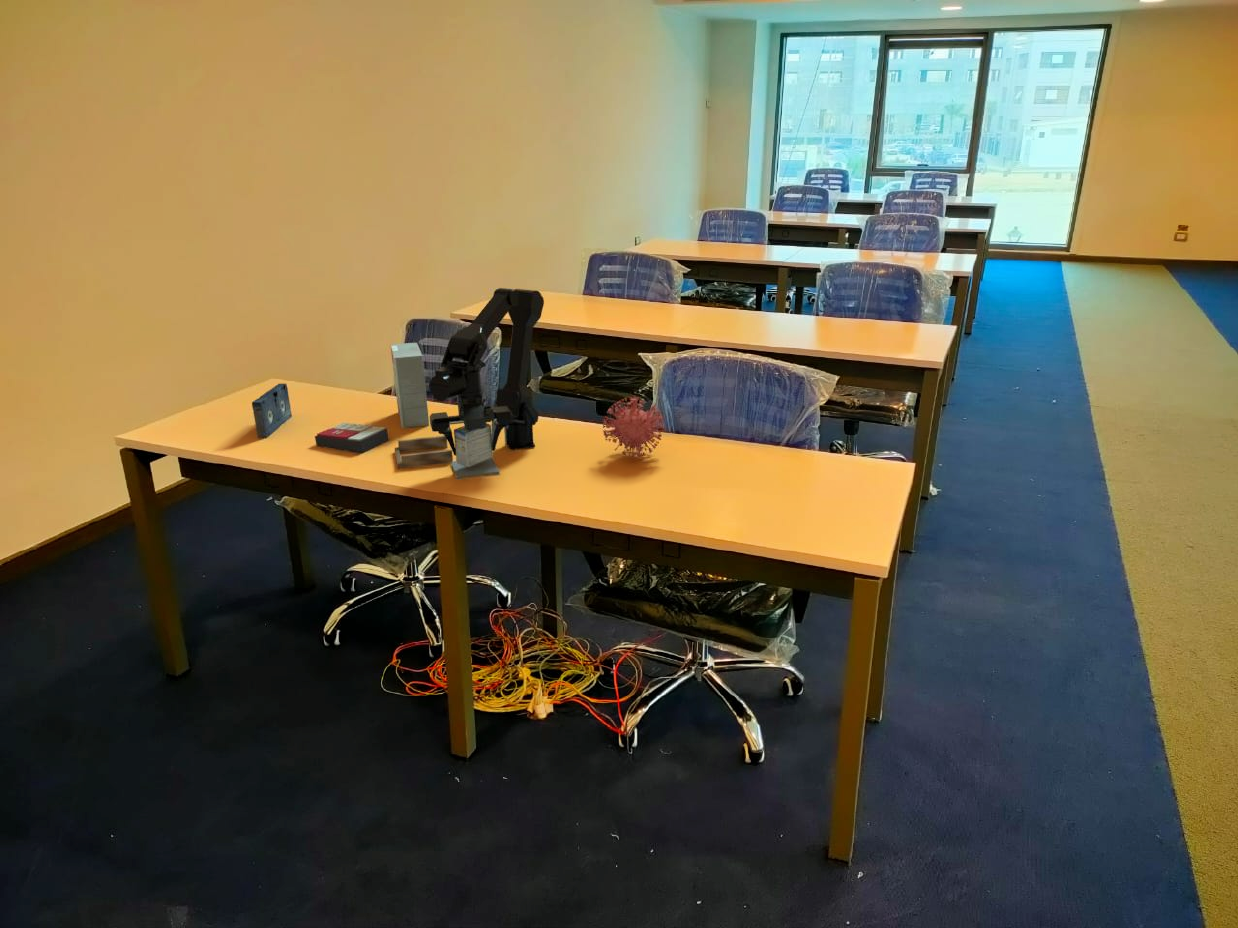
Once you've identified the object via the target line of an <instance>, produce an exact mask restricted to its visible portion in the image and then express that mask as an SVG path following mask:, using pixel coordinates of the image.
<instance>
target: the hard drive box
mask: <svg viewBox="0 0 1238 928" xmlns="http://www.w3.org/2000/svg"><path fill="white" fill-rule="evenodd" d="M389 346H390V352H391V353H390V354H391V360H392V369H393V370H392V371H393V379H394V387H395V396H396V404H397V412H398V417H399V419H400V420H399V421H400V426H401V428H402V429H408V428H417V427H423V426H425V427H426V426H427V427H428V426H429V425H430V416H429V409H428V399H427V390H426V379H425V369H424V357H423V353H422V351H421V349H420V346H419V344H418V342H408V343H396V344H395V343H394V344H390V345H389Z"/></svg>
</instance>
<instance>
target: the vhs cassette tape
mask: <svg viewBox="0 0 1238 928" xmlns="http://www.w3.org/2000/svg"><path fill="white" fill-rule="evenodd" d="M251 406H252V407H251V408H252V411H253V417H254V423H255V427H256V428H255V429H256V434H257V437H258V439H266V438H267V439H268V438H269V437H270V436H271V435H272V434H274V433H275V432H277V430H278V429H280V428H281V427H282V426H283V425H284V424H286V422H287V420H288V421H289V420H290V419H291V418H292V417H293V414H292V410H291V409H292V408H291V401H290V396H289V388H288V385H287V383H278V384H276V385H275V386H273V387H272V388H271V389H269V390H267V391H266V392H264V393H263V394H262V395H261V396H259V397H258V398H256V399H255V400H253V401H252V402H251ZM282 424H283V425H282ZM281 425H282V426H281ZM280 426H281V427H280Z"/></svg>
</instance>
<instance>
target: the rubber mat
mask: <svg viewBox="0 0 1238 928" xmlns="http://www.w3.org/2000/svg"><path fill="white" fill-rule="evenodd" d="M450 465H451V467H452V469H453V473H454V475H455V478H456V480H457V479H459V480H460V479H466V478H475V477H484V476H483V475H485V476H491V475H490V474H493V475H500V469H499V467H498V466H497V464H496V462H495V460H494V457H493V458H490V459H487V460H485V461H482V462H480V463H477V464H475V465H472V466H470V467H466V466H463V465H460V464H458V463H457V462H456V460H455V461H454V460H453V462H451V463H450Z"/></svg>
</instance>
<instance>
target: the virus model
mask: <svg viewBox="0 0 1238 928" xmlns="http://www.w3.org/2000/svg"><path fill="white" fill-rule="evenodd" d="M627 398H629V400H630V402H627ZM639 399H640V397H639V396H629V397H624V398H622V399H620V400H619V401H616V402H615V403H613V405H611V407H609V408H608V410H607V411H606V414H609V415H613V417H615V418H616V419H615V418H611V417H609V416H606V415H605V416H604V417H605V418H603V422H602V429H603V430H602V431H603V436H604V437H605V441H606V442H607V441H608V442H609V443H610V442H611V440H612V442H613V443H614V444H617V441H618V445H617V447H616V448H614V451H617V450H618V448H619V447H623V445H624V450H623V451H622V452H621V454H622V455H623V456H626V454H627V453H626V452H629V454H628V455H627V458H628V459H634V458H635V456H636V458H641V457H643V456H645V455H646V453H645V452H643V450H644V451H646V452H647V450H648V451H649V454H650V453H652V452H653V450H652V448H650V447H649V445H651V447H653V449H654V450H656V449H657V447H658V444H660V441H661V440H662V438H661V437H663V436H662V433H663V432H665V430H663V429H665V424H664V418H663V416H662V414H661V412H660V411H659V409H657V407H656V405H653V406H651V408H650V409H649V410H647V409H646V411H644V410H643V409H644V406H645V404H646V403H647V401H646V400H645V399H644V398H641V400H639ZM624 401H625V402H626V403H625V402H624ZM638 402H639V404H638ZM642 403H643V404H642ZM625 404H626V405H625ZM617 405H618V406H617ZM614 406H615V407H614ZM613 409H614V410H615V411H614V410H613ZM656 424H662V425H659V426H658V425H656ZM604 428H606V429H610V428H611V429H610V430H606V429H604ZM661 429H662V430H661ZM656 433H658V434H656ZM608 437H609V438H608ZM656 439H657V440H658V441H657V440H656ZM648 444H649V445H648ZM631 453H632V454H631Z"/></svg>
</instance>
